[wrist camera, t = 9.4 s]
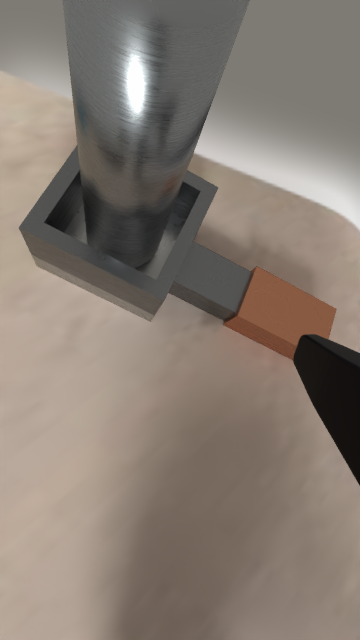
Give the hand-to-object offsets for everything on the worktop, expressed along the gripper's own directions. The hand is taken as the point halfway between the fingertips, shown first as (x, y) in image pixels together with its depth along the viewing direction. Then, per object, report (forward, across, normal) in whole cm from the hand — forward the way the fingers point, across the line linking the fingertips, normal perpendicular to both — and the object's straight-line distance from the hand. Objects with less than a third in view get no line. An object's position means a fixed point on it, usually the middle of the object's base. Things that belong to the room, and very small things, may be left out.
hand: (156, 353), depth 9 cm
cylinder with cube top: (+12, 0, 0) cm, 12 cm away
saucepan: (+12, -5, +3) cm, 13 cm away
